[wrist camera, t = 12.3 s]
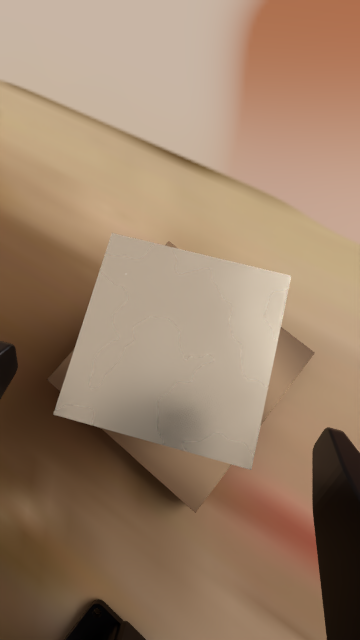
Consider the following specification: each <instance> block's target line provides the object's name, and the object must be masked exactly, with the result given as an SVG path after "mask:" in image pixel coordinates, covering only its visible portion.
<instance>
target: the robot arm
mask: <svg viewBox="0 0 360 640" xmlns="http://www.w3.org/2000/svg"><path fill="white" fill-rule="evenodd" d="M17 368H18V363H17V356H16V349H15V346H14V345H13V344H11V343H7V342H3V341H0V399H1V397H2V395H3V394H4V392H5V390H6V388H7V387H8V385H9V383H10V382H11V380H12V378H13V377H14V375H15V373H16V371H17ZM313 517H314V526H315V536H316V545H317V554H318V563H319V572H320V581H321V590H322V599H323V608H324V617H325V626H326V635H327V640H360V453H359V451H358V450H357V449H356V447H355V446H354V445H353V444H352V442H351V441H350V440H349V438H348V437H347V436H346V434H345V433H344V432H343V431H341V430H337V429H333V428H329V427H328V428H326V429H325V430H324V431H323V432H322V434H321V435H320V437H319V439H318V440H317V442H316V443H315V445H314V448H313ZM96 608H98V609H100V611H101V613H100V614H97V613H95V611H94V609H96ZM64 640H146V639H145V638H144V637H143V636H142V635H141V634H140V633H139V632H138V631H137V630H136V629H135V628H134V627H133V626H132V625H131V624H130V623H129V622H128V621H123V620H122V619H121V618H120V617H119V616H118V615H117V614H116V613H115V612H114V611H113V610H112V609H111V608H110V607H109V606H108V605H107V604H106V603H105V602H104V601H102V600H99V599H98V600H95V601H94V602H93V603H92V604H91V605H90V607H89V608H88V609H87V610H86V612H85V613H84V614H83V616H82V617H81V618H80V620H79V621H78V622H77V624H76V625H75V626H74V627H73V629H72V630H71V631H70V633H69V634H68V635H67V637H66V638H65V639H64Z"/></svg>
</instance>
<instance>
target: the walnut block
mask: <svg viewBox="0 0 360 640" xmlns="http://www.w3.org/2000/svg"><path fill="white" fill-rule="evenodd" d="M165 246H169V247H173V248H177V247H176V246H174V245H173V244H172V243H171V242H168V243H167V244H166V245H165ZM177 249H178V248H177ZM74 349H75V348H74ZM74 349H73V351H72V352H71V353H70V354H69V355H68V356H67V357H66V358H65V360H64V361H63V362H62V363H61V364H60V365H59V366H58V368H57V369H56V370H55V371H54V372H53V373H52V374H51V375H50V377H49V378H48V379H47V380H48V381H49V382H50V383H51V384H52V385H53V386H55V387H56V388H57V389H58V390H59V391H60V392H61V389H62V386H63V383H64V380H65V377H66V373H67V370H68V367H69V364H70V361H71V358H72V355H73V352H74ZM313 355H314V352H313V351H312V350H310V349H309V348H308V347H307V346H305V345H304V344H303V343H301V342H300V341H299V340H297V339H296V338H295V337H293V336H292V335H291V334H290V333H288V332H287V331H286V330H284V329H283V328H282V327H281V328H280V333H279V338H278V342H277V347H276V352H275V357H274V362H273V367H272V372H271V376H270V381H269V386H268V391H267V396H266V401H265V406H264V410H263V415H262V420H261V424H262V423H263V422H264V420H265V419H266V418H267V416H268V415H269V414H270V412H271V411H272V410H273V408H274V407H275V406H276V404H277V403H278V402H279V400H280V399H281V398H282V396H283V395H284V394H285V392H286V391H287V390H288V388H289V387H290V386H291V384H292V383H293V381H294V380H295V379H296V377H297V376H298V375H299V373H300V372H301V371H302V369H303V368H304V367H305V365H306V364H307V363H308V361H309V360H310V359H311V357H312V356H313ZM260 426H261V425H260ZM101 429H102V430H104V431H105V432H106V433H107V434H108V435H109V436H110V437H111V438H112V439H114V440H115V441H116V442H117V443H118V444H119V445H120V446H121V447H123V448H124V449H125V450H126V451H127V452H128V453H129V454H130V455H131V456H133V457H134V458H135V459H136V460H137V461H138V462H139V463H140V464H141V465H143V466H144V467H145V468H146V469H147V470H148V471H149V472H150V473H151V474H153V475H154V476H155V477H156V478H157V479H158V480H159V481H160V482H162V483H163V484H164V485H165V486H166V487H167V488H168V489H169V490H170V491H172V492H173V493H174V494H175V495H176V496H177V497H178V498H179V499H180V500H182V501H183V502H184V503H185V504H186V505H187V506H188V507H189V508H190V509H192V510H193V511H194V512H195V513H196V511H197V510H198V509H199V507H200V506H201V505H202V503H203V502H204V501H205V499H206V498H207V497H208V495H209V494H210V493H211V491H212V490H213V489H214V487H215V486H216V485H217V483H218V482H219V481H220V479H221V478H222V477H223V475H224V474H225V473H226V471H227V470H228V469H229V467H230V466H231V465H232V464H229V463H225V462H221V461H218V460H214V459H211V458H207V457H204V456H200V455H196V454H193V453H189V452H186V451H182V450H178V449H175V448H171V447H168V446H164V445H161V444H157V443H153V442H150V441H146V440H143V439H139V438H136V437H132V436H128V435H125V434H121V433H118V432H114V431H110V430H107V429H103V428H101Z"/></svg>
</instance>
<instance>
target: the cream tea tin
mask: <svg viewBox="0 0 360 640" xmlns="http://www.w3.org/2000/svg"><path fill="white" fill-rule="evenodd" d="M290 279H291V276H290V275H286V274H282V273H278V272H274V271H270V270H265V269H261V268H257V267H253V266H249V265H244V264H240V263H236V262H232V261H228V260H224V259H219V258H215V257H211V256H207V255H203V254H198V253H194V252H190V251H186V250H182V249H177V248H173V247H169V246H165V245H161V244H157V243H152V242H148V241H144V240H140V239H136V238H131V237H127V236H123V235H119V234H115V233H112V234H111V237H110V241H109V244H108V247H107V250H106V253H105V256H104V259H103V262H102V265H101V268H100V271H99V275H98V278H97V281H96V284H95V287H94V290H93V293H92V296H91V299H90V302H89V305H88V309H87V312H86V315H85V318H84V321H83V324H82V327H81V330H80V333H79V336H78V339H77V343H76V346H75V349H74V352H73V355H72V358H71V361H70V364H69V367H68V370H67V373H66V377H65V380H64V383H63V386H62V389H61V392H60V395H59V398H58V401H57V404H56V407H55V411H54V414H53V415H57V416H60V417H64V418H68V419H71V420H75V421H78V422H82V423H85V424H89V425H93V426H96V427H100V428H103V429H107V430H110V431H114V432H118V433H121V434H125V435H128V436H132V437H136V438H139V439H143V440H146V441H150V442H153V443H157V444H161V445H164V446H168V447H171V448H175V449H178V450H182V451H186V452H189V453H193V454H196V455H200V456H204V457H207V458H211V459H214V460H218V461H221V462H225V463H229V464H232V465H236V466H239V467H243V468H246V469H250V470H251V469H252V464H253V459H254V454H255V449H256V444H257V439H258V435H259V430H260V425H261V420H262V415H263V410H264V406H265V401H266V396H267V391H268V386H269V381H270V376H271V372H272V367H273V362H274V357H275V352H276V347H277V342H278V338H279V333H280V328H281V323H282V318H283V313H284V309H285V304H286V299H287V294H288V289H289V284H290Z"/></svg>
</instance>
